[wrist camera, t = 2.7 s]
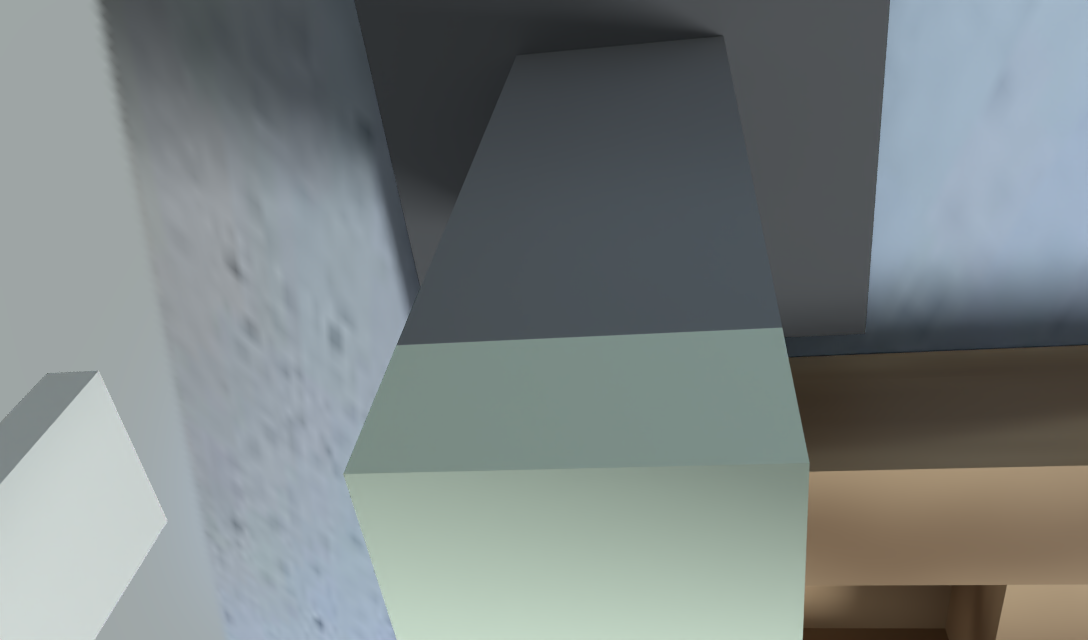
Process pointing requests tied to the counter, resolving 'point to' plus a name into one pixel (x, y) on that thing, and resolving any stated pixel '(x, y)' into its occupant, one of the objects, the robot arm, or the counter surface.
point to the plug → (594, 377)
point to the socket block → (946, 494)
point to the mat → (646, 17)
